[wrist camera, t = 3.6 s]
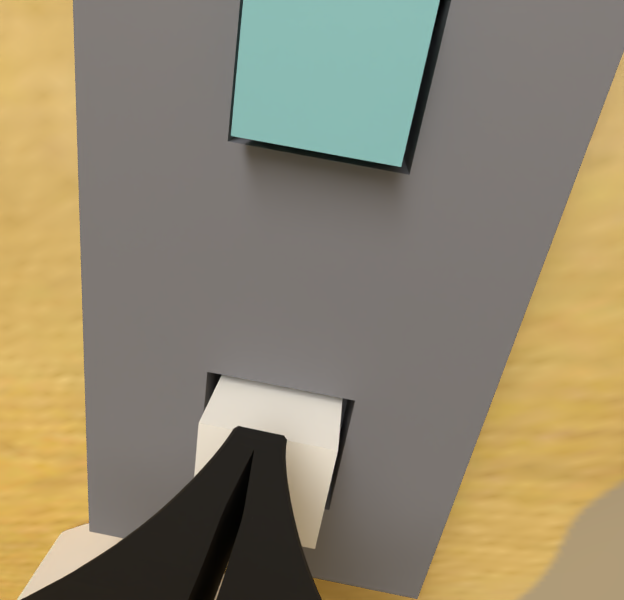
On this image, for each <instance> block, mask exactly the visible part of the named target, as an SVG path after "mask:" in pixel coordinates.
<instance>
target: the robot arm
mask: <svg viewBox="0 0 624 600" xmlns="http://www.w3.org/2000/svg"><path fill="white" fill-rule="evenodd" d="M286 444H287V439H286V438H285V436H284V435H280V434H275V433H270V432H265V431H261V430H256V429H251V428H246V427H241V426H237V427H235V428H234V429H233V430H232V432H231V433H230V435H229V436H228V438H227V439H226V440H225V442H224V443H223V444H222V446H221V447H220V448H219V450H218V451H217V452H216V453H215V454H214V456H213V457H212V458H211V459H210V460H209V461H208V462H207V464H206V465H205V466H204V467H203V468H202V469H201V470H200V471H199V472H198V474H197V475H196V476H195V477H194V478H193V479H192V480H191V481H190V482H189V483H188V484H187V485H186V486H185V487H184V488H183V489H182V490H181V491H180V492H179V493H178V494H177V495H176V496H175V497H174V498H172V499H171V500H170V501H169V502H168V503H167V504H166V505H165V506H164V507H163V508H161V509H160V510H159V511H158V512H157V513H156V514H154V515H153V516H152V517H151V518H150V519H148V520H147V521H146V522H145V523H143V524H142V525H141V526H140V527H138V528H137V529H136V530H134V531H133V532H132V533H130V534H129V535H128V536H126V537H125V538H124V539H122V540H121V541H119V542H118V543H117V544H115V545H114V546H112V547H111V548H109V549H108V550H106V551H105V552H103V553H102V554H100V555H99V556H97V557H95V558H94V559H92V560H91V561H89V562H87V563H86V564H84V565H83V566H81V567H79V568H78V569H76V570H75V571H73V572H71V573H70V574H68V575H66V576H64V577H63V578H61V579H59V580H57V581H55V582H53V583H51V584H49V585H47V586H46V587H44V588H42V589H40V590H38V591H36V592H34V593H32V594H30V595H29V596H27V597H25V598H23V599H21V600H214V599H215V597H216V594H217V591H218V588H219V586H220V583H221V580H222V578H223V575H224V572H225V575H224V578H223V581H222V584H221V587H220V590H219V593H218V596H217V599H216V600H322V599H321V597H320V595H319V592H318V590H317V588H316V585H315V583H314V580H313V578H312V575H311V572H310V569H309V567H308V564H307V561H306V558H305V555H304V551H303V548H302V545H301V542H300V538H299V534H298V531H297V527H296V522H295V518H294V514H293V509H292V504H291V499H290V492H289V486H288V479H287V469H286ZM228 561H229V562H228ZM227 564H228V565H227ZM226 567H227V568H226ZM225 570H226V571H225Z"/></svg>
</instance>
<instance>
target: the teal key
mask: <svg viewBox="0 0 624 600" xmlns="http://www.w3.org/2000/svg"><path fill="white" fill-rule="evenodd" d="M439 2H440V0H243V7H242V18H241V29H240V40H239V51H238V62H237V73H236V84H235V95H234V106H233V117H232V128H231V136H234V137H240V138H245V139H251V140H256V141H262V142H267V143H273V144H278V145H283V146H289V147H294V148H300V149H305V150H311V151H316V152H322V153H327V154H332V155H338V156H343V157H349V158H354V159H360V160H365V161H371V162H376V163H381V164H387V165H392V166H398V167H401V166H402V161H403V157H404V153H405V149H406V144H407V140H408V136H409V131H410V127H411V123H412V118H413V114H414V110H415V105H416V101H417V97H418V92H419V88H420V84H421V79H422V75H423V71H424V66H425V62H426V58H427V53H428V49H429V45H430V41H431V36H432V32H433V28H434V23H435V19H436V15H437V10H438V6H439Z"/></svg>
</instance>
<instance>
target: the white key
mask: <svg viewBox="0 0 624 600" xmlns="http://www.w3.org/2000/svg"><path fill="white" fill-rule="evenodd" d="M342 399H343V398H339V397H334V396H329V395H323V394H318V393H313V392H308V391H303V390H298V389H293V388H288V387H283V386H278V385H273V384H267V383H262V382H257V381H252V380H247V379H242V378H237V377H232V376H227V375H221V377H220V379H219V382H218V384H217V386H216V388H215V390H214V392H213V394H212V396H211V398H210V400H209V402H208V404H207V407H206V409H205V411H204V413H203V415H202V417H201V419H200V421H199V425H198V437H197V448H196V460H195V472H194V477H195V476H196V475H197V474H198V472H199V471H200V470H201V469H202V468H203V467H204V466H205V465H206V464H207V462H208V461H209V460H210V459H211V458H212V457H213V456H214V454H215V453H216V452H217V451H218V450H219V448H220V447H221V446H222V444H223V443H224V442H225V440H226V439H227V438H228V436H229V435H230V433H231V432H232V430H233V429H234V428H235V427H237V426H241V427H246V428H251V429H256V430H261V431H265V432H270V433H275V434H280V435H284V436H285V438H286V439H287V444H286V469H287V479H288V486H289V492H290V499H291V504H292V509H293V514H294V518H295V522H296V527H297V531H298V534H299V538H300V542H301V545H302V546H303V547H307V548H312V549H315V547H316V542H317V538H318V534H319V530H320V525H321V521H322V517H323V512H324V508H325V504H326V500H327V495H328V491H329V487H330V483H331V478H332V474H333V470H334V466H335V461H336V457H337V453H338V445H339V433H340V422H341V411H342Z"/></svg>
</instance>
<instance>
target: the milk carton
mask: <svg viewBox="0 0 624 600" xmlns="http://www.w3.org/2000/svg"><path fill="white" fill-rule="evenodd" d="M122 539H124V538H119V537H114V536H109V535H104V534H99V533H94V532H90V531H89V523H87V524H84V525H81V526H78V527H75V528H72V529H69V530H66V531H63V532H62V533H61V534H60V535H59V537H58V538H57V540H56V541H55V543H54V544H53V546H52V547H51V549H50V550H49V552H48V553H47V555H46V556H45V558H44V559H43V561H42V562H41V564H40V565H39V567H38V569H37V570H36V572H35V573H34V575H33V576H32V578H31V579H30V581H29V582H28V584H27V585H26V587H25V588H24V590H23V591H22V593H21V594H20V596H19V597H18V599H17V600H21V599H23V598H25V597H27V596H29V595H30V594H32V593H34V592H36V591H38V590H40V589H42V588H44V587H46V586H47V585H49V584H51V583H53V582H55V581H57V580H59V579H61V578H63V577H64V576H66V575H68V574H70V573H71V572H73V571H75V570H76V569H78V568H79V567H81V566H83V565H84V564H86V563H87V562H89V561H91V560H92V559H94V558H95V557H97V556H99V555H100V554H102V553H103V552H105V551H106V550H108V549H109V548H111V547H112V546H114V545H115V544H117V543H118V542H119V541H121V540H122ZM224 575H225V574H224ZM224 575H223V578H224ZM223 578H222V580H221V583H220V586H219V588H218V591H217V594H216V597H215V599H214V600H216V599H217V596H218V593H219V590H220V587H221V584H222V581H223Z"/></svg>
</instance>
